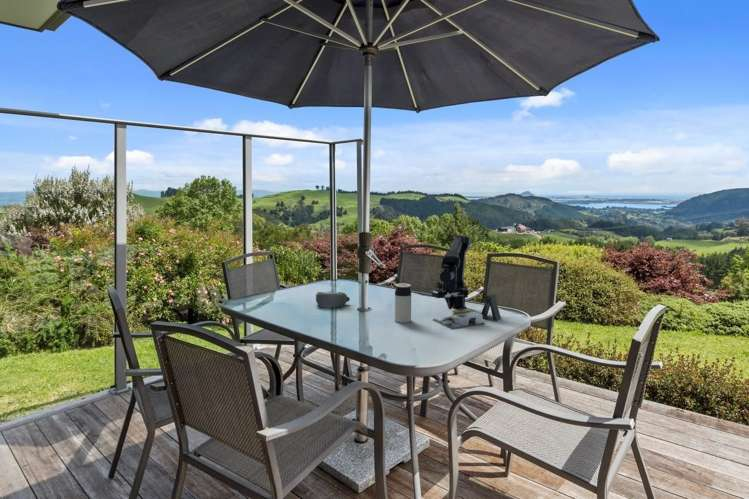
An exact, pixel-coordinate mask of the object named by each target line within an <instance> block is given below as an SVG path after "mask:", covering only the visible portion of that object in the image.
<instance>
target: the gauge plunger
mask: <svg viewBox="0 0 749 499" xmlns="http://www.w3.org/2000/svg"><path fill="white" fill-rule="evenodd" d="M470 312H472V310H471V309H470V308H463V309H455V310H451V316H452V318H450V319H443V320H442V321H446V320H453V321H454V315H455V314H462V313H470ZM469 320H471V318H469Z"/></svg>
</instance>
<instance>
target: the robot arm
mask: <svg viewBox="0 0 749 499" xmlns="http://www.w3.org/2000/svg"><path fill="white" fill-rule="evenodd" d="M471 244H472V238H470V237H469V236H465V235H459V234H455V235H454V237H453V242H452V245H451V247H450V248H449V251H446V252H445V254H444V256H443V257H442V262H441V266H440V269H443V271H441V273H440V274H439V279H440V281H441V282H442V283H441V282H435V286H434V287H435V290H433V291H432V292H431V296H432V297H434V298H436V299H444V300H445V302H446V305H447V308H448V310H452V308H453V309H455V310H462V309H468V308H467V307H468V306H466V298H469V290H468V288H467V284H466V281H465V280H464V277H465V276H464V275H465V266H466V255H467V252H468V251H469V249H470V247H471Z"/></svg>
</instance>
